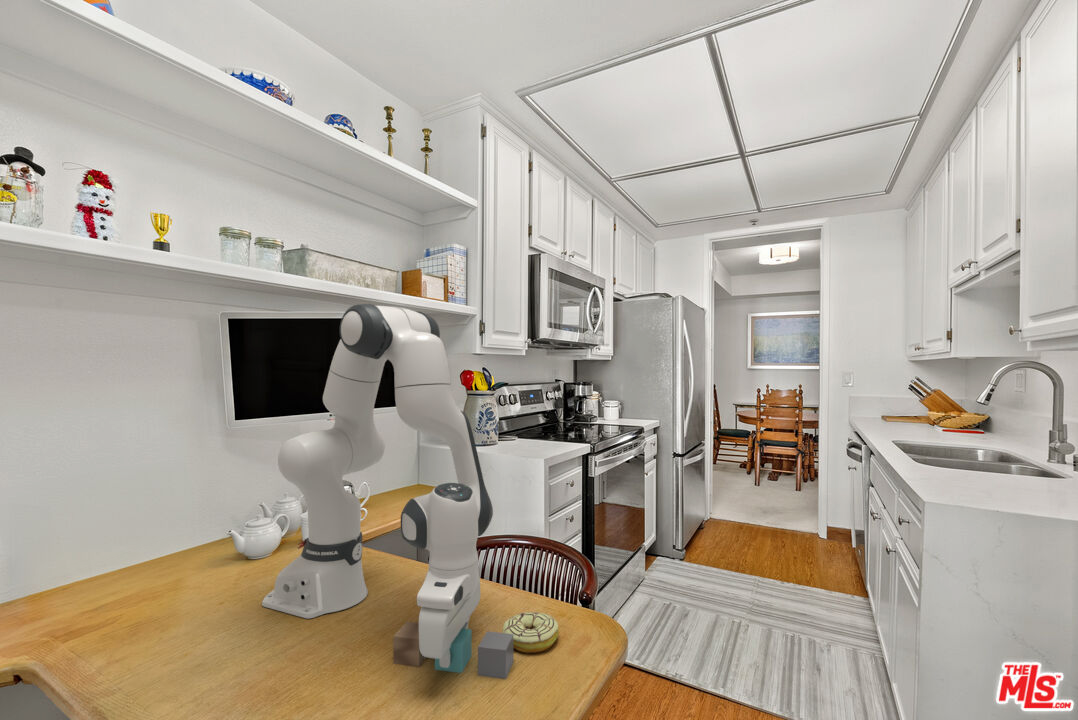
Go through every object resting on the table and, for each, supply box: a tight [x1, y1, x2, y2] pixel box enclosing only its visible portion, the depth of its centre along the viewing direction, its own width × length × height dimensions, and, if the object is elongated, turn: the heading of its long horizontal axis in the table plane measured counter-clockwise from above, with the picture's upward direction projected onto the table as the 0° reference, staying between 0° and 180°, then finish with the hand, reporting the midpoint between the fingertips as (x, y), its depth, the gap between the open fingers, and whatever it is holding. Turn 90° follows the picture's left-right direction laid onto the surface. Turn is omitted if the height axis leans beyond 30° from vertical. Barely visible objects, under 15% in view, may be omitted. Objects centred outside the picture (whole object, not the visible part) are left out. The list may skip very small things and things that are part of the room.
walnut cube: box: [392, 621, 427, 668], centre depth 89 cm, size 5×5×5 cm
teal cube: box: [434, 628, 472, 674], centre depth 87 cm, size 5×5×5 cm
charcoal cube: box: [477, 630, 514, 680], centre depth 85 cm, size 5×5×5 cm
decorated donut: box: [502, 611, 560, 654], centre depth 94 cm, size 10×11×4 cm
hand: (453, 653), depth 87 cm, fingers open, 5 cm apart
